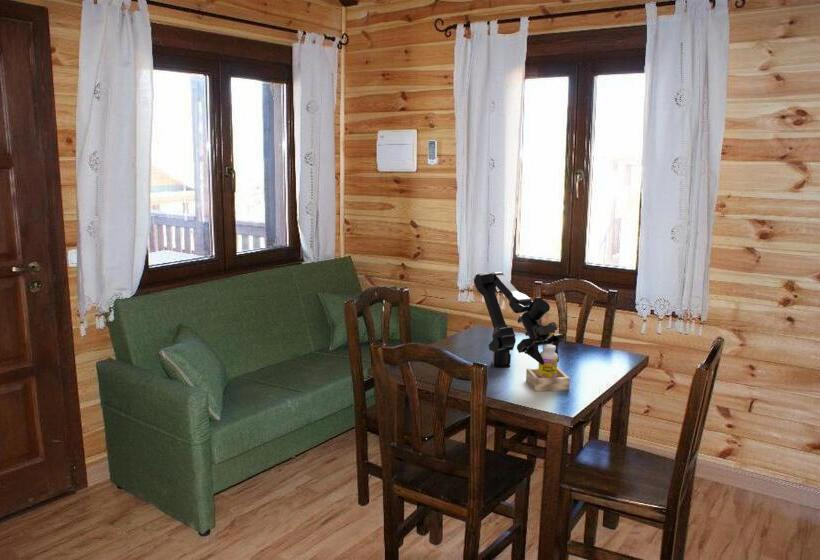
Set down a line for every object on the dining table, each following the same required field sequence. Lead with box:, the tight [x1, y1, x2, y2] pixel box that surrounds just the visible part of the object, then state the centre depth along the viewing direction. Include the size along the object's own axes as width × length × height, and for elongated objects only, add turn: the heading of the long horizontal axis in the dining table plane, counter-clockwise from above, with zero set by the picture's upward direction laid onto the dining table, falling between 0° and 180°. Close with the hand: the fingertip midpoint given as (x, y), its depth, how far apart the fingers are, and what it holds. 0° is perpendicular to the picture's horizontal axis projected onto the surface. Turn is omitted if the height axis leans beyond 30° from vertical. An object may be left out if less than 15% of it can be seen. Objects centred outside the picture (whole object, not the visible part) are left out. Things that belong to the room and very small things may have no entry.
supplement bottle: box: [537, 344, 559, 378], centre depth 255 cm, size 7×7×13 cm
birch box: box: [525, 367, 571, 392], centre depth 256 cm, size 12×12×5 cm
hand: (550, 363), depth 254 cm, fingers closed on supplement bottle, 6 cm apart
